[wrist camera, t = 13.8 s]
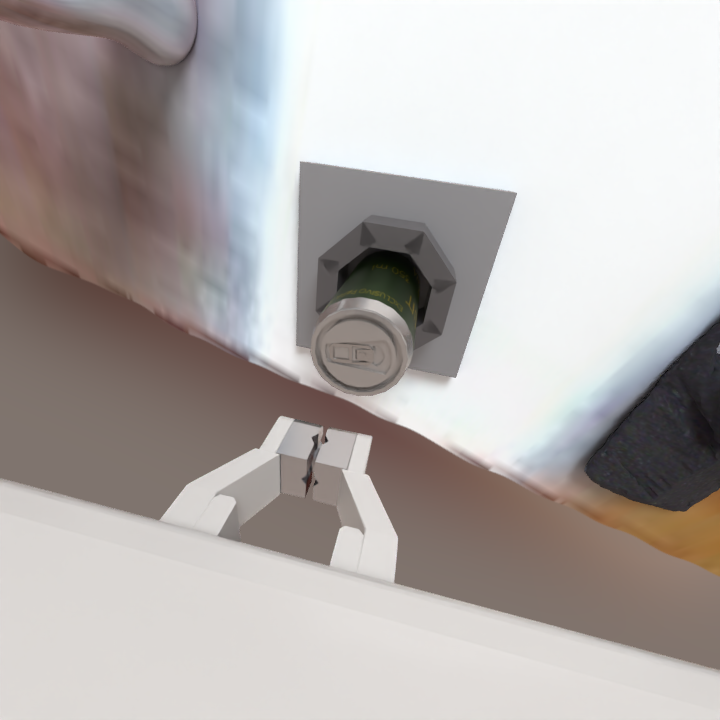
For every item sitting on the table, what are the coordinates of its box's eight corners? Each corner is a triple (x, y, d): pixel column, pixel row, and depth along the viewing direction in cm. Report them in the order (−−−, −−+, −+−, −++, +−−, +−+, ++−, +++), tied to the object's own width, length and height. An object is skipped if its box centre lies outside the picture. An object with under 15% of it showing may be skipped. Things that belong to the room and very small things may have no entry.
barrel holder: (513, 191, 23) (530, 197, 19) (455, 370, 31) (458, 401, 27) (305, 161, 24) (280, 161, 20) (300, 339, 32) (282, 364, 28)
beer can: (354, 311, 28) (310, 393, 18) (353, 247, 26) (301, 300, 16) (417, 316, 28) (408, 405, 17) (423, 249, 25) (417, 308, 15)
